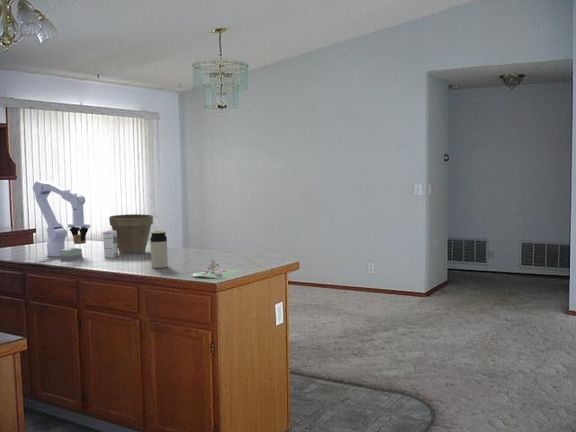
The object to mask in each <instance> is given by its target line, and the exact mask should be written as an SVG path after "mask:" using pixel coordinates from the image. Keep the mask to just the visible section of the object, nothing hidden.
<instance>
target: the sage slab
mask: <svg viewBox="0 0 576 432" xmlns="http://www.w3.org/2000/svg"><path fill="white" fill-rule="evenodd" d="M82 250H83V248H79V247H70V248H65V249H62V250H60V255H64V256H74V255H80V254H82V255H83V251H82Z"/></svg>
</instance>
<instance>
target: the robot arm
mask: <svg viewBox="0 0 576 432" xmlns="http://www.w3.org/2000/svg"><path fill="white" fill-rule="evenodd" d="M32 191H33V193H34V196H35V197H34V198H35V201H36V203H37V205H38V207H39V209H40V211H41V213H42V215H43V218H44V219H45V222H46V224H47V228H46V232H47V237H48V240H49V241H48V242H47V244H46V248H47V249H46V251H47V252H46V253H47V255H46V256H47V257H56V258H57V257H58V258H59V257H61V256H60V250H62V249H66V246H65V241H66V238H67V237H68V231H67V230H66V228H65V227H64V225H63V224H61V223H59V222H58V220H57V217H56V216H55V214H54V212H53V209H52V207H51V205H50V203H49V201H48V197H49V195H50V194H51V192H52V193H55V194H56V195H57V194H58V195H60V196H61V199H63V200H65V201H67V202H69V203H70V205H71V209H72V221H73V222H72V223H68V224H67V228H68V229H69V231H70V233H71V235H72V238H73V239H74V235H77V234H80V235H81V241H85V237H86V235H87V234H88V232H89V229H90V228H91V224H86V223H85V218H84V217H85V215H84V204H85V203H86V198H85V196H83V195H82V194H78V193H77V192H73V191H72V190H71V189H66V188H65V189H63V188H62V187H60V186H58V185H56V184H55V183H54V181H53V182H52V181H51V180H47V181H45V180H43V181H39V180H38V181H35V182H34V184H33V186H32ZM86 238H87V237H86Z"/></svg>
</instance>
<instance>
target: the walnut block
mask: <svg viewBox="0 0 576 432" xmlns="http://www.w3.org/2000/svg"><path fill="white" fill-rule="evenodd" d="M86 238H87V237H85V241H81V235H80V233H78V234H77V235H74V238H73V244H74V245H84V244H87V239H86Z"/></svg>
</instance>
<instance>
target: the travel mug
mask: <svg viewBox="0 0 576 432" xmlns="http://www.w3.org/2000/svg"><path fill="white" fill-rule="evenodd" d="M150 233H151V236H150V239H149V240H150V259H151V260H150V261H151V265H150V266H151V268H153V269H164V268H167V267H169V266H168V265H169V263H168V260H169V259H168V258H169V257H168V240H167V239H168V238H167V236H166V234H167V231H166V230H152V231H151V230H150Z"/></svg>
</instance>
